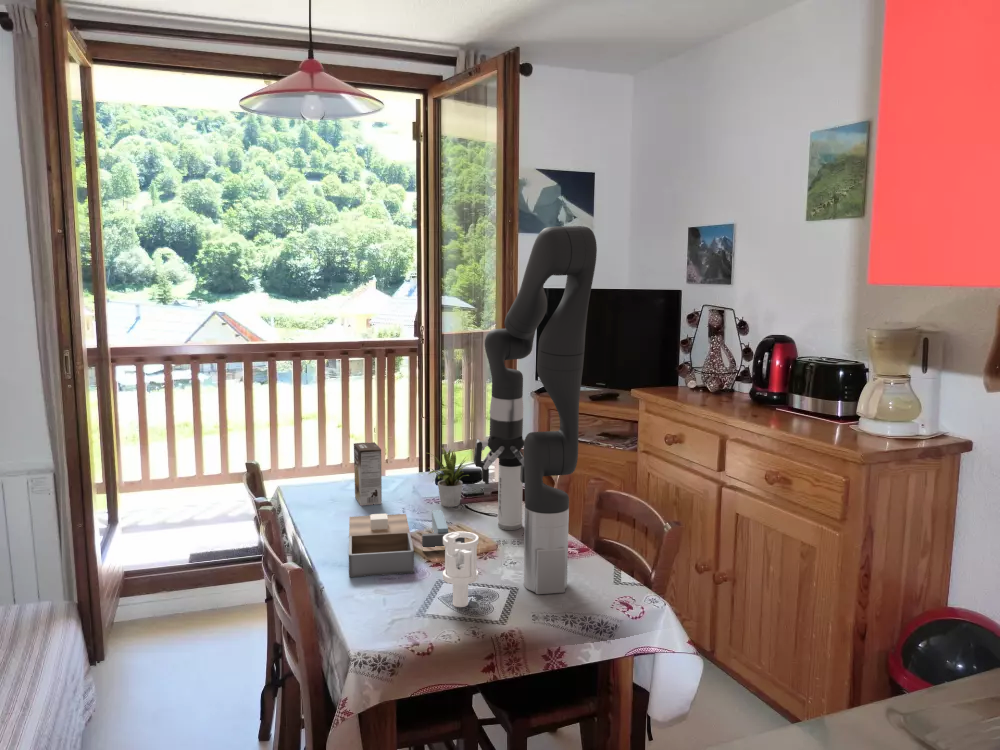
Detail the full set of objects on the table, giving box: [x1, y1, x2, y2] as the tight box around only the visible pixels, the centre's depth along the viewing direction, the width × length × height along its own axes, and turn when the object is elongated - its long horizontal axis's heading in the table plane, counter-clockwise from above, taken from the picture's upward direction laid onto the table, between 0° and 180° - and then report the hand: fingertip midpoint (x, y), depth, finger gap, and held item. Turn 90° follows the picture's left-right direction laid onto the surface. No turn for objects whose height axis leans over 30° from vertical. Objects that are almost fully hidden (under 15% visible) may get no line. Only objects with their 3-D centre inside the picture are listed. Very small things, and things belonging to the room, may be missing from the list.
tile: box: [369, 513, 388, 530], centre depth 184 cm, size 4×4×2 cm
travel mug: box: [497, 450, 524, 531], centre depth 199 cm, size 6×7×20 cm
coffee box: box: [353, 441, 383, 507], centre depth 220 cm, size 9×6×16 cm
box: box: [348, 532, 415, 578], centre depth 173 cm, size 12×14×5 cm
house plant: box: [427, 447, 470, 508], centre depth 218 cm, size 14×14×16 cm
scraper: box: [421, 509, 466, 547], centre depth 190 cm, size 16×10×5 cm, turn 11°
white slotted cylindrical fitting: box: [442, 530, 479, 608], centre depth 153 cm, size 7×7×15 cm
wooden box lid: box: [348, 513, 411, 554], centre depth 186 cm, size 14×14×5 cm
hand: (504, 482), depth 178 cm, fingers open, 8 cm apart
